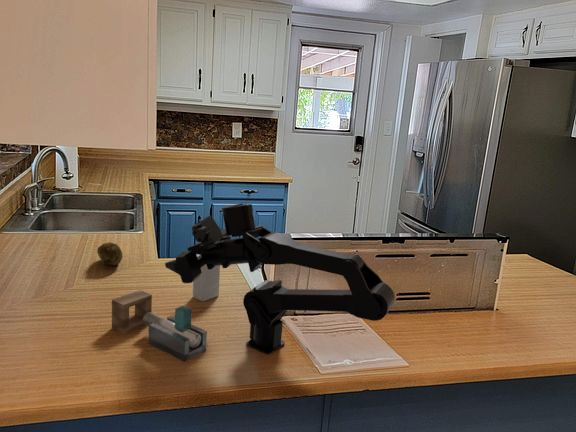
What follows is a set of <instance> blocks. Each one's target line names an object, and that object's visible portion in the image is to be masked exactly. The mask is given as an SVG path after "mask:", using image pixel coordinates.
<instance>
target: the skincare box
mask: <svg viewBox="0 0 576 432" xmlns="http://www.w3.org/2000/svg"><path fill="white" fill-rule="evenodd" d="M196 255H197V257H198V256H200V255H199V254H196ZM201 271H202V273H201V275H200V277H198V278H197V279H196V280H195V281H193V282H192V298H194V299H196V300H198V301H200V302H205V301H209V300H211V299H213V298H216V297H219V295H220V273H221V272H220V271H221V265H220V266H215V267H214V268H213V269H209V270H208V268H207V265H206V264H205V265H204V266H203V267H201Z"/></svg>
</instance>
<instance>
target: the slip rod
mask: <svg viewBox="0 0 576 432" xmlns="http://www.w3.org/2000/svg"><path fill="white" fill-rule="evenodd" d="M174 310H175V311H174V317H175V323H174V322H171V321H169V320H167V318H164V317H162V316H160V315H158V314H156V313H153V312H152V311H151V312H148V313H146V314H145V316H144V317H143V324H144V325H143V326H147V328H149V325H150V324H152V323H154V324H156V325H158V326H161V327H163V328H165V329H167V330H169V331H171V332H174V333H176V334H178V335H180V336H182V337H184V338H186V339H189V346H190V347H193V348H196V347H197V346H198V345H199V344H200V342H201V335H200V334H198V333H196V332H194V331H191V330H189V329H190V328H191V324H192V313H193V312H192V311H193V310H192V308H191V307H189V306H186V305H184V304H183V305H181V306H178V307H176V308H175V309H174Z"/></svg>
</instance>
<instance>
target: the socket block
mask: <svg viewBox="0 0 576 432" xmlns="http://www.w3.org/2000/svg"><path fill="white" fill-rule="evenodd" d="M152 298H153V295H152V294H151V293H149V292H146V291H144V290H141V289H140V290H137V291H134V292H131V293H128V294H125V295H122V296H119V297H116V298H112V299H111V329H113V330H115V331H117V332H119V333H121V334H122V335H123V334H126V333H128V332H130V331H134V330H136V329H139V328H140V327H143V326H145V325H144V324H143V317H144V316H145V314H146V313H148V312H151V313H152V307H153V306H152V303H153V301H152V300H153V299H152ZM132 307H134V314H133V315H131V316H130V308H132Z"/></svg>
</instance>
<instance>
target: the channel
mask: <svg viewBox="0 0 576 432" xmlns="http://www.w3.org/2000/svg"><path fill="white" fill-rule="evenodd" d="M166 319H167V320H169V321H171V322H174V323H175V316H174V315H169V316H167V317H166ZM189 330H191V331H194V332H196V333H198V334H200V335H201V342H200V344H199V345H198V346H197V347H196V348H193V347H190V346H189V339H186V338H184V337H182V336H180V335H178V334H176V333H174V332H171V331H169V330H167V329H165V328H163V327H161V326H158V325H156V324H154V323H152V324H150V325H149V327H148V340H147V341H148V345H150V346H152V347H154V348H156V349H158V350H160V351H162V352H164V353H166V354H167V355H170V356H172V357H173V358H176V359H178V360H180V361H182V362H184V363H185V362H187V361H189V360H190V359H192V358H195V357H196V356H199V355H200V354H201V353H204V352H205V351H207V342H208V341H207V338H208V331H207V330H205V329H202V328H200V327H198V326H196V325H193V324H192V323H191V328H190V329H189Z"/></svg>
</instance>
